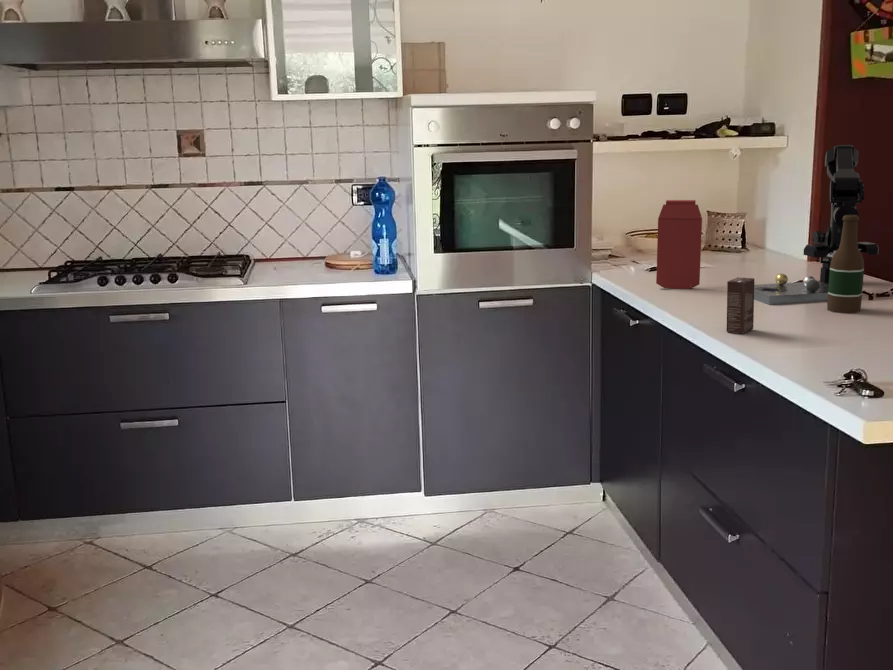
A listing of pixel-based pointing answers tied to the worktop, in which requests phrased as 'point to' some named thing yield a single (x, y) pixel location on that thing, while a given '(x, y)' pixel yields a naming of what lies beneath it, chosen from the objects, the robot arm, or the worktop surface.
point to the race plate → (789, 293)
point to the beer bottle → (846, 271)
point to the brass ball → (781, 279)
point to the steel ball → (807, 280)
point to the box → (740, 305)
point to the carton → (679, 245)
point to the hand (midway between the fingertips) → (838, 281)
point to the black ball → (813, 285)
